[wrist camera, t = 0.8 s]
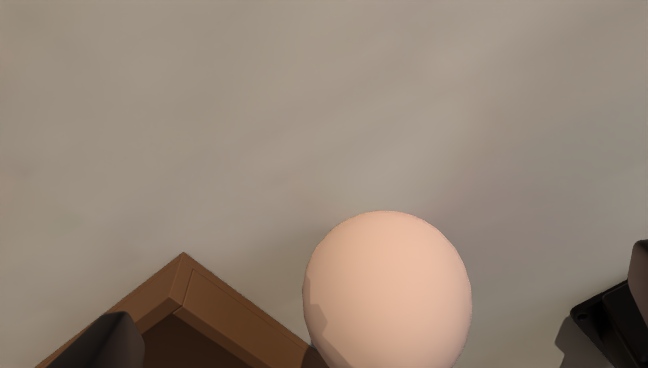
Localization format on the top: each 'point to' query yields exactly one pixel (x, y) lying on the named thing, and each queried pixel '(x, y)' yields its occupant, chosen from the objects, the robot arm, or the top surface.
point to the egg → (387, 294)
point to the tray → (205, 324)
